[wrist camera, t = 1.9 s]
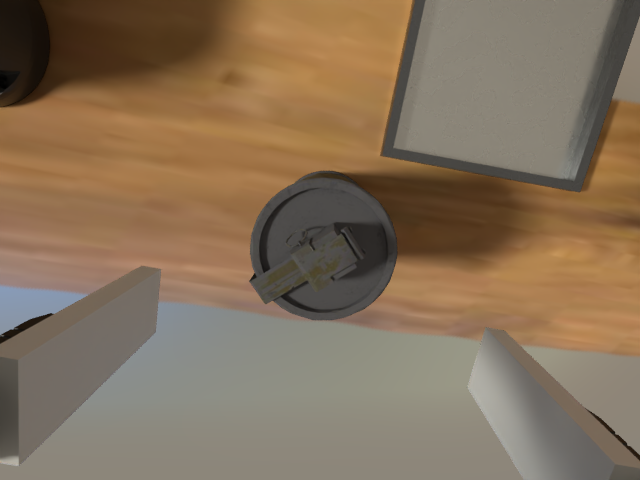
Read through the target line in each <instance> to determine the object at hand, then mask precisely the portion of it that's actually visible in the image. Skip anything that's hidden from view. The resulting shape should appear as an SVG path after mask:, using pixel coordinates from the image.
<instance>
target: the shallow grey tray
mask: <svg viewBox="0 0 640 480" xmlns="http://www.w3.org/2000/svg"><path fill="white" fill-rule="evenodd" d="M639 16H640V0H413V1H412V5H411V10H410V15H409V20H408V24H407V29H406V34H405V39H404V43H403V48H402V53H401V58H400V62H399V67H398V72H397V77H396V81H395V86H394V91H393V96H392V100H391V105H390V110H389V115H388V119H387V124H386V129H385V134H384V138H383V143H382V148H381V152H380V156H383V157H389V158H394V159H399V160H405V161H410V162H416V163H421V164H426V165H432V166H437V167H443V168H448V169H454V170H459V171H464V172H470V173H475V174H481V175H486V176H491V177H497V178H502V179H508V180H513V181H518V182H524V183H529V184H535V185H540V186H546V187H551V188H556V189H562V190H567V191H575V192H580V191H581V188H582V185H583V182H584V179H585V176H586V173H587V170H588V167H589V164H590V161H591V158H592V155H593V152H594V149H595V146H596V143H597V141H598V138H599V135H600V132H601V129H602V126H603V123H604V120H605V117H606V114H607V111H608V108H609V105H610V102H611V99H612V96H613V93H614V90H615V87H616V84H617V81H618V78H619V75H620V72H621V69H622V67H623V64H624V61H625V58H626V55H627V52H628V49H629V46H630V43H631V40H632V37H633V34H634V31H635V28H636V25H637V22H638V19H639Z"/></svg>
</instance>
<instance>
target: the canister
mask: <svg viewBox="0 0 640 480" xmlns="http://www.w3.org/2000/svg"><path fill="white" fill-rule="evenodd" d="M250 255H251V261H252V267H253V269H254V272H255V273H254V275H253V276H252V278H251V279H250V281H249V282H250V283H251V284H252V286H253V287H254V289H255V290H256V292H257V293H258V294H259V296H260V297H261V299H262V300H263V302H264V303H265V304H267V303H269V302H271V301H274V302H275V303H276V304H278V305H279V306H280V307H281V308H283V309H285V310H286V311H288V312H290V313H292V314H295V315H298V316H301V317H305V318H308V319H311V320H335V319H339V318H344V317H347V316H349V315H352V314H354V313H356V312H359V311H361V310H363V309H365V308H366V307H367V306H369V305H370V304H371V303H373V302H374V301H375V300H376V299H377V298H378V297H379V296H380V295H381V294H382V292H383V291H384V289H385V288H386V286H387V285H388V283H389V282H390V279H391V276H392V273H393V270H394V267H395V264H396V259H397V238H396V234H395V231H394V227H393V224H392V222H391V220H390V217H389V215H388V214H387V212H386V211H385V209H384V208H383V206H382V205H381V204H380V203H379V202H378V201H377V200H376V199H375V198H374V197H373V196H372V195H371V194H370V193H368V192H367V191H365V190H364V189H362V188H361V187H359V185H358V184H357V183H356V182H354V181H353V180H352V179H350V178H349V177H347V176H345V175H343V174H341V173H337V172H333V171H318V172H313V173H311V174H308V175H306V176H304V177H302V178H300V179H299V180H298V181H296V182H295V183H294V184H292V185H290V186H288V187H287V188H285V189H283V190H282V191H280V192H279V193H278V194H276V195H275V196H274V197H273V198H272V199H271V200H270V201H269V202H268V203H267V204H266V206H265V207H264V208H263V209H262V211H261V213H260V214H259V216H258V218H257V220H256V223H255V226H254V229H253V232H252V235H251V244H250Z"/></svg>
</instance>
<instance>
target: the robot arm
mask: <svg viewBox="0 0 640 480" xmlns="http://www.w3.org/2000/svg"><path fill="white" fill-rule="evenodd" d="M48 57H49V33H48V27H47V23H46V19H45V16H44V13H43V11H42V8H41V6H40V4H39V2H38V0H0V107H2V106H7V105H11V104H13V103H16V102H18V101H20V100H22V99H23V98H25V97H26V96H27V95H29V94H30V93H31V92H32V91H33V90H34V89H35V87H36V86H37V85H38V83H39V82H40V80H41V78H42V77H43V74H44V72H45V69H46V66H47V63H48ZM160 276H161V269H157V268H152V267H146V266H141V267H139V268H137V269H135V270H133V271H131V272H130V273H128V274H126V275H124V276H122V277H121V278H119V279H117V280H115V281H113V282H112V283H110V284H108V285H106V286H104V287H103V288H101V289H99V290H97V291H95V292H93V293H92V294H90V295H88V296H86V297H84V298H83V299H81V300H79V301H77V302H75V303H74V304H72V305H70V306H68V307H66V308H65V309H63V310H61V311H59V312H57V313H55V314H52V313H50V314H47V315H43V316H40V317H36V318H33V319H30V320H28V321H26V322H24V323H22V324H20V325H19V326H17V327H15V328H14V329H13V330H9V331H7V332H5V333H3V334H2V335H0V463H3V464H9V465H15V466H20V464H22V463H23V462H24V461H25V460H26V459H27V457H29V456H30V455H31V454H32V453H33V452H34V451H35V450H36V449H37V448H38V447H39V446H40V445H41V444H42V443H43V442H44V441H45V440H46V439H47V438H48V437H49V436H50V435H51V434H52V433H53V432H54V431H55V430H56V429H57V428H58V427H59V426H60V425H61V424H62V423H63V422H64V421H65V420H67V419H68V417H70V416H71V415H72V414H73V413H74V412H75V411H76V410H77V408H79V407H80V406H81V405H82V404H83V403H84V402H85V401H86V400H87V399H88V398H89V397H90V396H91V395H92V394H93V393H94V392H95V391H96V390H97V389H98V388H99V387H100V386H101V385H102V384H103V383H104V382H105V381H106V380H107V379H108V378H109V377H110V376H111V375H112V374H113V373H115V371H116V370H118V369H119V368H120V367H121V365H123V364H124V363H125V362H126V361H127V360H128V359H129V358H130V357H131V356H132V355H133V354H134V353H135V352H136V351H137V350H138V349H139V348H140V347H141V346H142V345H143V344H144V343H145V342H146V341H147V340H148V339H149V338H150V337H151V336H152V335H153V334H154V333H155V332H156V322H157V311H158V299H159V288H160ZM468 389H469V391H470V392H471V394H472V396H473V397H474V399H475V401H476V402H477V404H478V405H479V407H480V409H481V410H482V412H483V413H484V415H485V417H486V419H487V420H488V422H489V423H490V425H491V427H492V428H493V430H494V432H495V433H496V435H497V436H498V438H499V440H500V441H501V443H502V445H503V446H504V448H505V449H506V451H507V453H508V454H509V456H510V457H511V459H512V461H513V462H514V464H515V466H516V467H517V469H518V471H519V472H520V474H521V476H522V477H523V479H524V480H640V455H639V454H638V453H637V452H636V451H635V450H634V449H632V448H631V447H630V446H627V443H626V442H625V441H624V440H623V439H622V438H621V437H620V436H619V435H616V434H615V431H613V430H612V429H611V428H610V427H609V426H608V425H607V424H606V423H605V422H604V421H603V420H602V419H601V418H599V417H598V416H596V415H595V414H593V413H592V412H590V411H589V410H587V409H586V408H584V407H583V406H582V405H581V404H580V403H579V402H578V401H577V400H576V399H575V398H574V397H573V396H572V395H571V394H570V393H569V392H568V391H567V390H565V389H564V388H563V387H562V386H561V385H560V384H559V383H558V382H557V381H556V380H555V379H554V378H553V377H552V376H551V375H550V374H549V373H548V372H547V371H546V370H545V369H544V368H543V367H542V366H541V365H540V364H539V363H538V362H536V361H535V360H534V359H533V358H532V357H531V356H530V355H529V354H528V353H527V352H526V351H525V350H524V349H523V348H522V347H521V346H520V345H519V344H518V343H517V342H516V341H515V340H514V339H513V338H512V337H510V336H509V335H508V334H507V333H506V332H505V331H504V330H498V329H493V328H487V327H486V328H485V331H484V334H483V338H482V341H481V344H480V347H479V351H478V354H477V357H476V361H475V364H474V367H473V371H472V374H471V377H470V380H469V384H468Z"/></svg>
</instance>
